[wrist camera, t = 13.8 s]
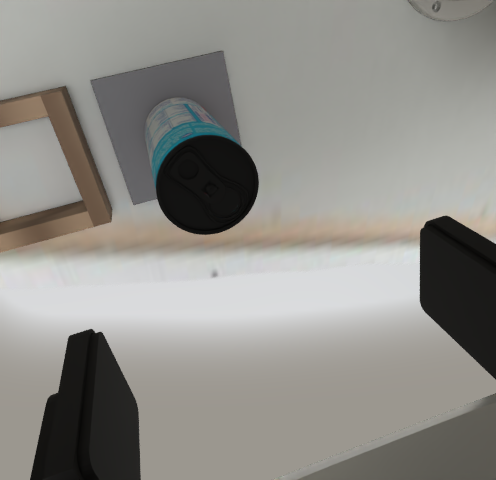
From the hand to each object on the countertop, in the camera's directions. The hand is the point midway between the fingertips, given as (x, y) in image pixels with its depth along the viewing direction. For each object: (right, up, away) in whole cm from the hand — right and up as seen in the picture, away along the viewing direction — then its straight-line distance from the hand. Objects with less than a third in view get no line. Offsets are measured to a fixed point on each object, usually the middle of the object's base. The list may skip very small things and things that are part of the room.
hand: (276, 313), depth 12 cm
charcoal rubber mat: (-7, +12, +25) cm, 29 cm away
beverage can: (-7, +12, +25) cm, 29 cm away
